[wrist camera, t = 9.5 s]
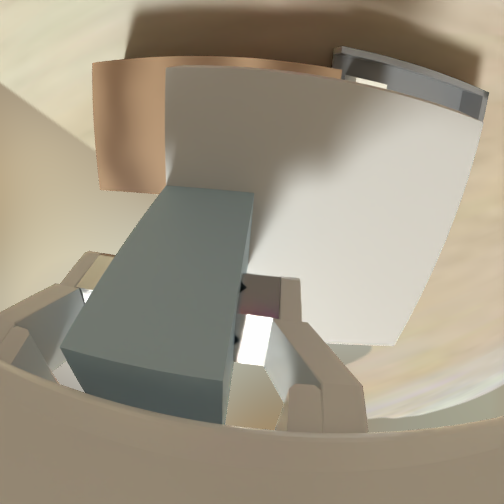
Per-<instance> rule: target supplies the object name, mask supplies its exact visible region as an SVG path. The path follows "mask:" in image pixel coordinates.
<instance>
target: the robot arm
mask: <svg viewBox="0 0 504 504" xmlns="http://www.w3.org/2000/svg"><path fill="white" fill-rule="evenodd" d="M115 256H116V255H111V254H105V253H98V252H92V251H88V252H85V253H84V254H83V256H82V257H81V258H80V259H79V261H78V262H77V263H76V264H75V266H74V267H73V268H72V269H71V271H70V272H69V273H68V274H67V276H66V277H65V278H64V280H63V281H62V282H61V283H60V284H54V285H52V286H50V287H48V288H46V289H44V290H42V291H40V292H38V293H36V294H34V295H32V296H30V297H28V298H26V299H24V300H22V301H20V302H19V303H17V304H15V305H13V306H11V307H9V308H7V309H5V310H3V311H1V312H0V504H504V416H501V417H496V418H492V419H487V420H482V421H476V422H471V423H465V424H458V425H452V426H444V427H437V428H428V429H419V430H408V431H395V432H378V433H377V432H375V433H368V425H367V416H366V407H365V400H364V392H363V386H362V385H361V383H360V382H359V381H358V380H357V379H356V378H355V376H354V375H353V374H352V373H351V372H350V371H349V370H348V368H347V367H346V366H345V365H344V364H343V363H342V361H340V359H339V358H338V357H337V356H336V354H335V353H334V352H333V351H332V350H331V349H330V347H329V346H328V345H327V344H326V343H325V342H324V341H323V339H322V338H321V337H320V336H319V335H318V334H317V332H316V331H315V330H314V329H313V328H312V327H311V325H310V324H309V323H308V322H302V302H301V280H300V279H299V278H294V277H283V276H281V277H277V276H268V275H259V274H250V273H243V275H242V280H241V290H240V293H239V298H238V304H237V310H236V321H235V341H234V351H233V362H240V363H246V364H253V365H260V366H264V369H265V370H266V372H267V374H268V376H269V378H270V379H271V381H272V383H273V385H274V386H275V388H276V390H277V392H278V394H279V396H280V397H281V399H282V401H283V403H284V405H283V408H282V411H281V414H280V417H279V419H278V422H277V425H276V428H275V430H265V429H255V428H246V427H237V426H230V425H223V424H216V423H210V422H204V421H198V420H192V419H187V418H181V417H176V416H171V415H167V414H162V413H157V412H153V411H149V410H145V409H140V408H136V407H132V406H129V405H125V404H121V403H117V402H114V401H110V400H107V399H103V398H100V397H97V396H94V395H90V394H87V393H84V392H81V391H78V390H75V389H72V388H69V387H66V386H63V385H60V384H59V382H58V381H57V379H56V378H55V376H54V375H53V373H52V372H53V371H54V370H55V369H57V368H58V367H59V366H61V365H62V364H63V363H64V362H66V361H67V360H66V358H65V356H64V354H63V353H62V351H61V349H60V345H61V343H62V341H63V340H64V338H65V336H66V334H67V333H68V331H69V329H70V327H71V326H72V324H73V322H74V321H75V319H76V317H77V315H78V314H79V312H80V310H81V309H82V307H83V305H84V304H85V302H86V301H87V299H88V297H89V296H90V294H91V292H92V291H93V289H94V288H95V286H96V285H97V283H98V281H99V280H100V278H101V277H102V275H103V274H104V272H105V271H106V269H107V268H108V266H109V265H110V263H111V261H112V260H113V258H114V257H115Z"/></svg>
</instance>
